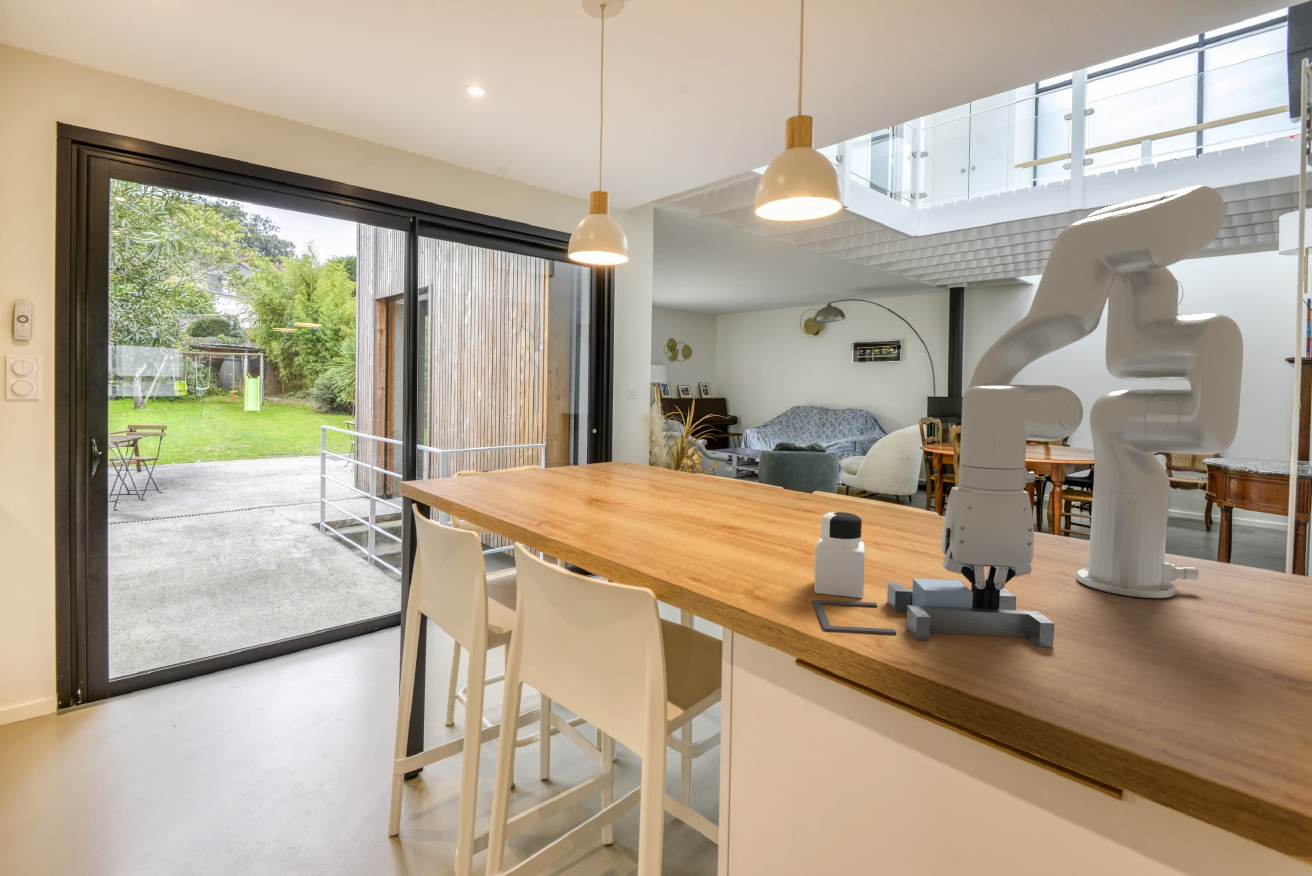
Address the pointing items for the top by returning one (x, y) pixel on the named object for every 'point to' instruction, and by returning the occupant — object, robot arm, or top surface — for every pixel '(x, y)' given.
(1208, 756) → the top surface
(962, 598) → the block
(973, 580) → the robot arm
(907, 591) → the grey stepped fixture
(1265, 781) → the top surface
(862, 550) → the medicine bottle
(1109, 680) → the top surface
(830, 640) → the top surface
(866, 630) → the bay
